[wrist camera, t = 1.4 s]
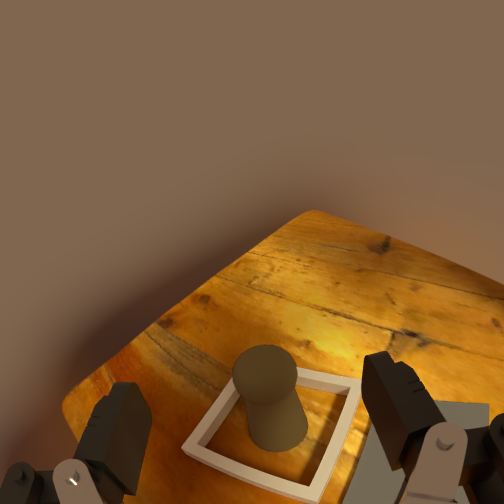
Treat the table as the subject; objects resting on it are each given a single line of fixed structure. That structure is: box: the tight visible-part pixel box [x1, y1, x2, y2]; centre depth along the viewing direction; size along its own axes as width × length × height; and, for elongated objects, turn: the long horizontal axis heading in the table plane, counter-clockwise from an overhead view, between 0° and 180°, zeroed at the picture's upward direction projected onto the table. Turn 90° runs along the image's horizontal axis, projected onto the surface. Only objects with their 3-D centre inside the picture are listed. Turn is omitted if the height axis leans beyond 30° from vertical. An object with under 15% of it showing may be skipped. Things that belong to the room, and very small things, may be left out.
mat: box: [342, 400, 489, 504], centre depth 20 cm, size 13×13×1 cm
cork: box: [232, 345, 308, 452], centre depth 25 cm, size 6×6×11 cm
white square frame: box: [181, 367, 362, 504], centre depth 27 cm, size 14×14×2 cm
